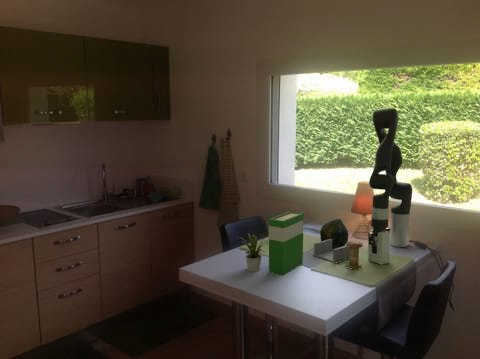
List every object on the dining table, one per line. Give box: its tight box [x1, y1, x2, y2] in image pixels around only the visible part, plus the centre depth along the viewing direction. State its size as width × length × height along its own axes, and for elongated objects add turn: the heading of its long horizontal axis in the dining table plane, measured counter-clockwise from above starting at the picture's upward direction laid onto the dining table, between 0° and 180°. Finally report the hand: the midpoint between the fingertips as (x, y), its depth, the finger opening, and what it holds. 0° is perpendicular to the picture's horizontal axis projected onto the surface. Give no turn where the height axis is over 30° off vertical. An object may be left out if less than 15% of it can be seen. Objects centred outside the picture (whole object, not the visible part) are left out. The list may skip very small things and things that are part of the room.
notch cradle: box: [313, 239, 350, 264], centre depth 208 cm, size 12×14×6 cm
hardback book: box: [268, 210, 304, 277], centre depth 192 cm, size 18×7×24 cm, turn 144°
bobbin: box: [345, 240, 364, 270], centre depth 194 cm, size 7×7×11 cm
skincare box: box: [367, 228, 391, 265], centre depth 200 cm, size 8×6×15 cm
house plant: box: [238, 233, 266, 272], centre depth 192 cm, size 14×14×16 cm
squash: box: [319, 218, 349, 247], centre depth 226 cm, size 14×15×15 cm
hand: (378, 251), depth 200 cm, fingers closed on skincare box, 6 cm apart
